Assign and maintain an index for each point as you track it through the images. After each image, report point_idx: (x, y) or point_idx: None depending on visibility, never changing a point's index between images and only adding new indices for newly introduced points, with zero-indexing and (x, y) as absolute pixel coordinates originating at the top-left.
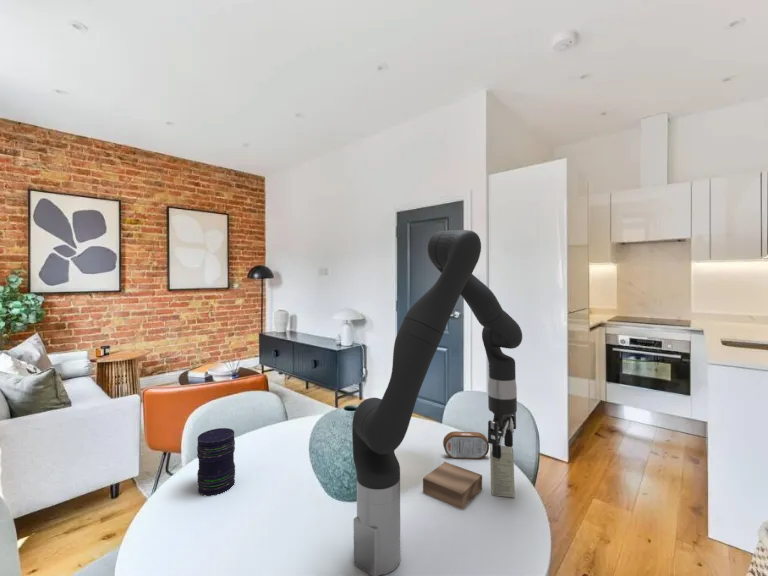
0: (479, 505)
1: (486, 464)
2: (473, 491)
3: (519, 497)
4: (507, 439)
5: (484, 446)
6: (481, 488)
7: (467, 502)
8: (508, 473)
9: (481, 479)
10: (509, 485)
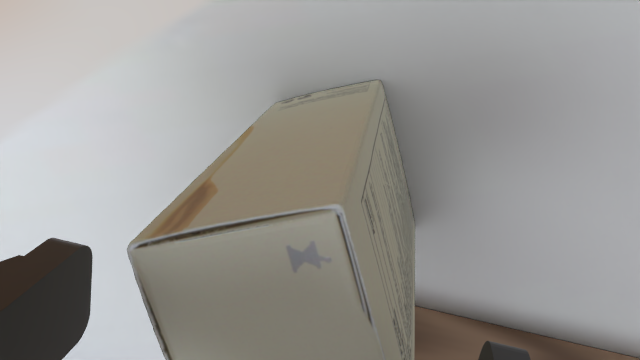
0: (579, 280)
1: None
2: None
3: (350, 47)
4: (31, 352)
5: None
6: None
7: (599, 355)
8: (381, 174)
9: None
10: (384, 135)
